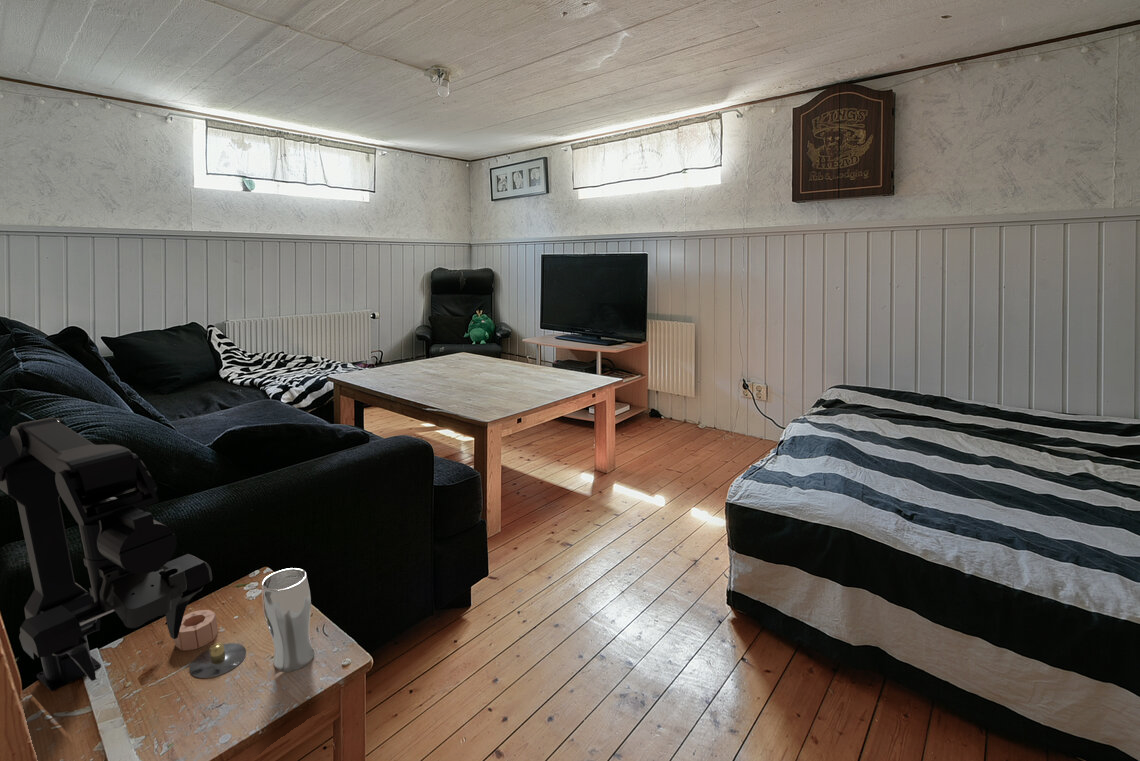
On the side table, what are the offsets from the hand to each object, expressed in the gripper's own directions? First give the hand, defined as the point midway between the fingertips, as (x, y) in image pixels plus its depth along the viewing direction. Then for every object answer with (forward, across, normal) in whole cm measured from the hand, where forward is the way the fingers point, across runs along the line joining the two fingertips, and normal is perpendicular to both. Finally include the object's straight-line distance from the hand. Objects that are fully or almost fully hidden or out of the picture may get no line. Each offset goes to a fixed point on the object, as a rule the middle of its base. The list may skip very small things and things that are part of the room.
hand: (135, 657), depth 75 cm
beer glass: (+15, +21, 0) cm, 26 cm away
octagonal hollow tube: (+14, +15, +19) cm, 28 cm away
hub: (+15, +14, +10) cm, 23 cm away
